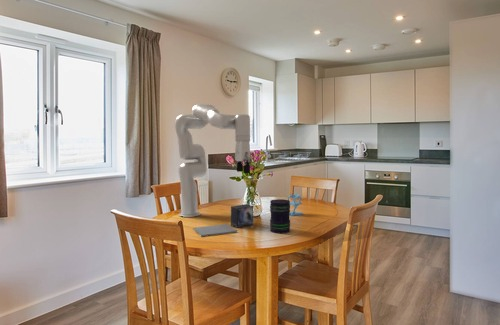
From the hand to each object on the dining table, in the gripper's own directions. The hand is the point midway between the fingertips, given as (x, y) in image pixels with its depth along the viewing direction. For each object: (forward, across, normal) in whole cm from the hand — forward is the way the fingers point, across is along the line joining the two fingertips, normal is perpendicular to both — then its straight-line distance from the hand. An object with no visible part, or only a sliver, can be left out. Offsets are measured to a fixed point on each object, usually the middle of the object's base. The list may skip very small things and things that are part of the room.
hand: (243, 172), depth 185 cm
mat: (+28, +1, -16) cm, 33 cm away
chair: (+29, -15, +38) cm, 50 cm away
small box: (+29, -3, 0) cm, 29 cm away
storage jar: (+29, +15, +13) cm, 35 cm away
